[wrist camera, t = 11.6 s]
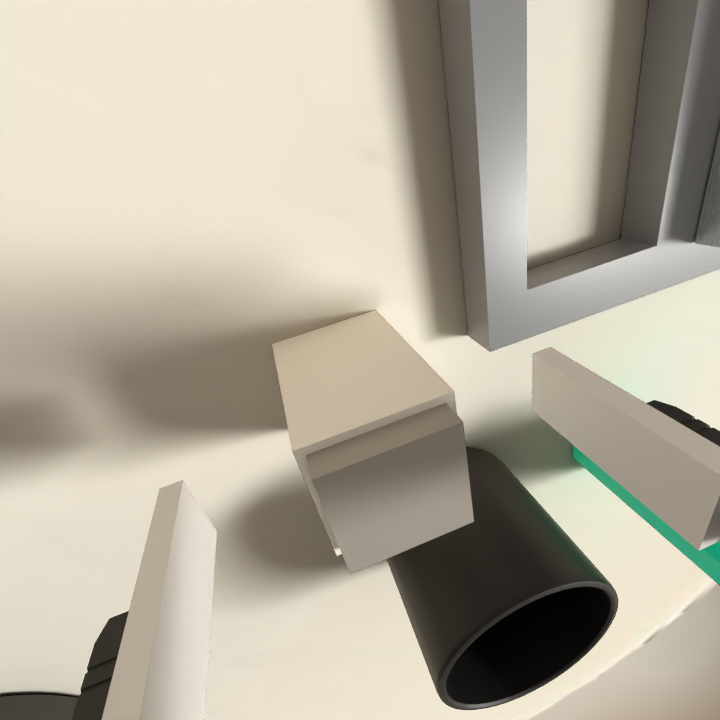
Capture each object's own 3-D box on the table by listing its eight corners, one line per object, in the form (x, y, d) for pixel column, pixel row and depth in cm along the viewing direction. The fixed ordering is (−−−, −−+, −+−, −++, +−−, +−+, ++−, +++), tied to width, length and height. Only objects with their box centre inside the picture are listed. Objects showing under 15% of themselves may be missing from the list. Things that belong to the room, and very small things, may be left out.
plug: (304, 427, 20) (343, 583, 12) (271, 343, 17) (296, 476, 10) (394, 395, 20) (482, 523, 13) (375, 309, 18) (471, 409, 10)
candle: (556, 457, 26) (758, 642, 16) (611, 385, 25) (876, 542, 14) (605, 472, 29) (807, 641, 19) (658, 409, 27) (913, 556, 17)
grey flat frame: (468, 335, 20) (490, 351, 18) (423, -163, 11) (456, -222, 10) (772, 228, 22) (817, 233, 21) (920, -240, 14) (1016, -297, 12)
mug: (476, 564, 30) (560, 705, 22) (347, 541, 24) (398, 717, 17) (552, 473, 27) (678, 595, 19) (427, 426, 22) (532, 570, 14)
